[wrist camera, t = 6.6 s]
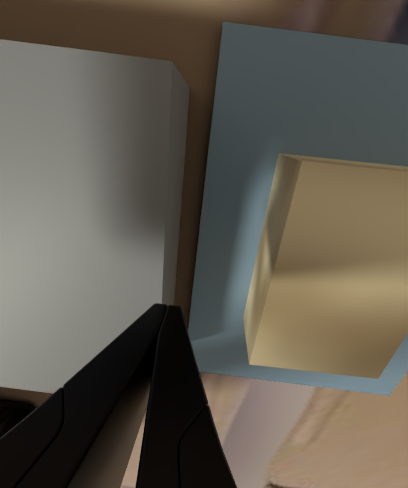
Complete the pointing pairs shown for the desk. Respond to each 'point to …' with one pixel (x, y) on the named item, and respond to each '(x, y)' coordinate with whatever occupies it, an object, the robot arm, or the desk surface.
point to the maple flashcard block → (330, 268)
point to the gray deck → (84, 203)
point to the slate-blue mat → (264, 163)
